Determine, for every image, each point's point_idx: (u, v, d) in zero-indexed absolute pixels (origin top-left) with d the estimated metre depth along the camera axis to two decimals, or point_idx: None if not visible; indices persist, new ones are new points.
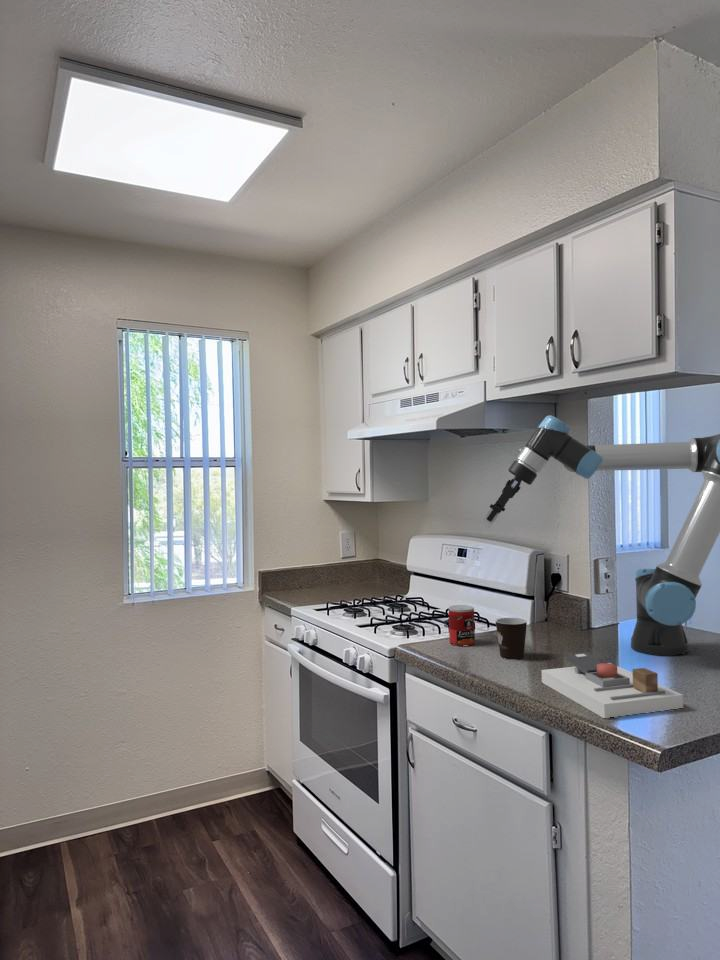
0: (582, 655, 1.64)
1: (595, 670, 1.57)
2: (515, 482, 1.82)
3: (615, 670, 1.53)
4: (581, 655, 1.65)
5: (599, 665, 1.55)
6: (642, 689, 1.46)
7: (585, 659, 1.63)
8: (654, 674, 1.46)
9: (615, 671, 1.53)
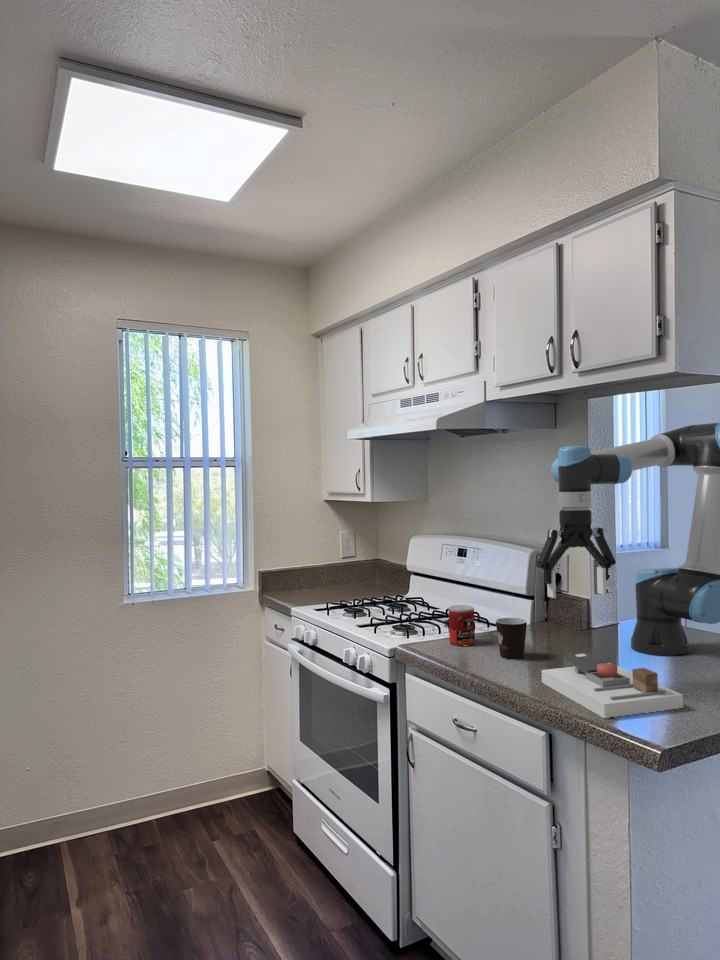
0: (582, 655, 1.64)
1: (595, 670, 1.57)
2: None
3: (615, 670, 1.53)
4: (581, 655, 1.65)
5: (599, 665, 1.55)
6: (642, 689, 1.46)
7: (585, 659, 1.63)
8: (654, 674, 1.46)
9: (615, 671, 1.53)
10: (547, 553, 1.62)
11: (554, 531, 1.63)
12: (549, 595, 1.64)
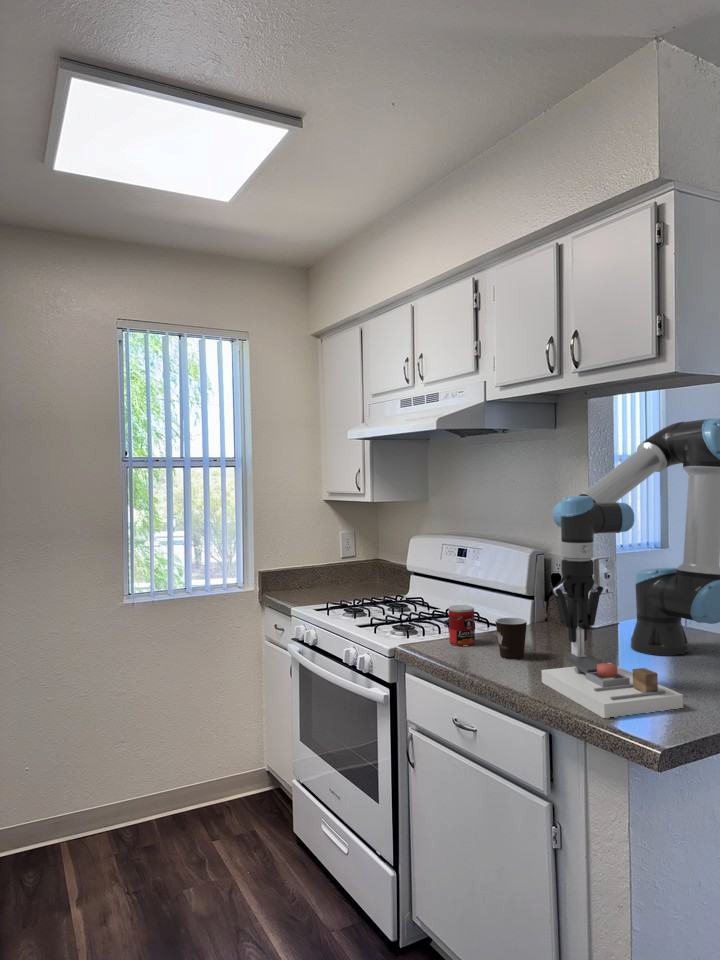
0: (582, 656, 1.64)
1: (595, 670, 1.57)
2: None
3: (615, 670, 1.53)
4: None
5: (599, 665, 1.55)
6: (642, 689, 1.46)
7: (585, 659, 1.63)
8: (654, 674, 1.46)
9: (615, 671, 1.53)
10: (564, 612, 1.63)
11: (558, 591, 1.63)
12: (573, 653, 1.66)
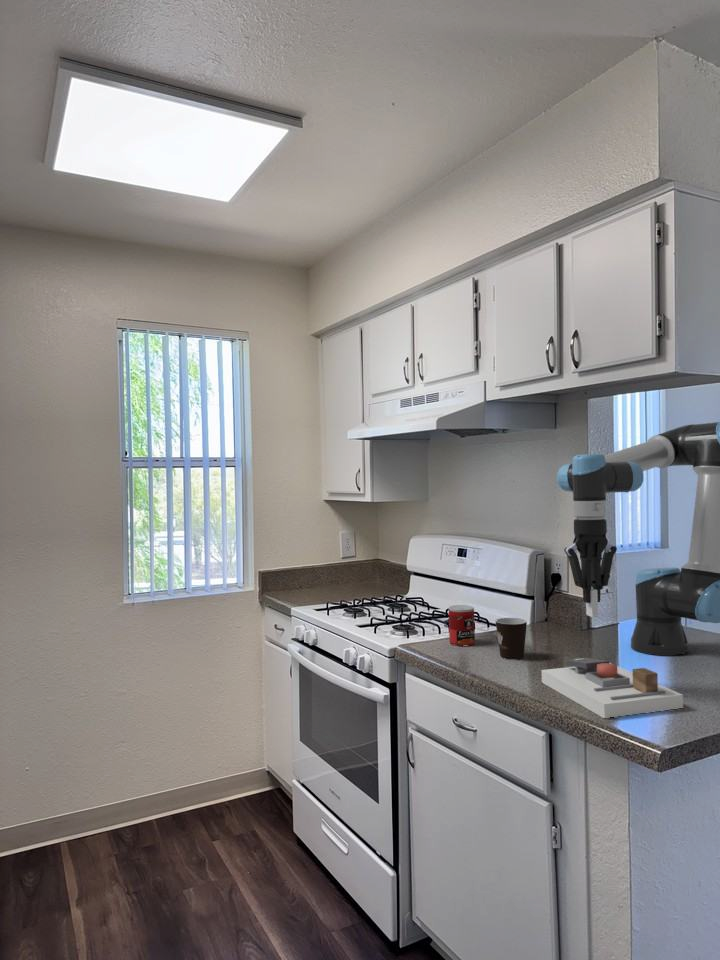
0: (581, 659, 1.65)
1: (594, 663, 1.58)
2: None
3: (615, 670, 1.53)
4: (580, 659, 1.65)
5: (599, 665, 1.55)
6: (642, 689, 1.46)
7: (584, 660, 1.63)
8: (654, 674, 1.46)
9: (615, 671, 1.53)
10: (578, 572, 1.60)
11: (570, 550, 1.60)
12: (588, 614, 1.63)
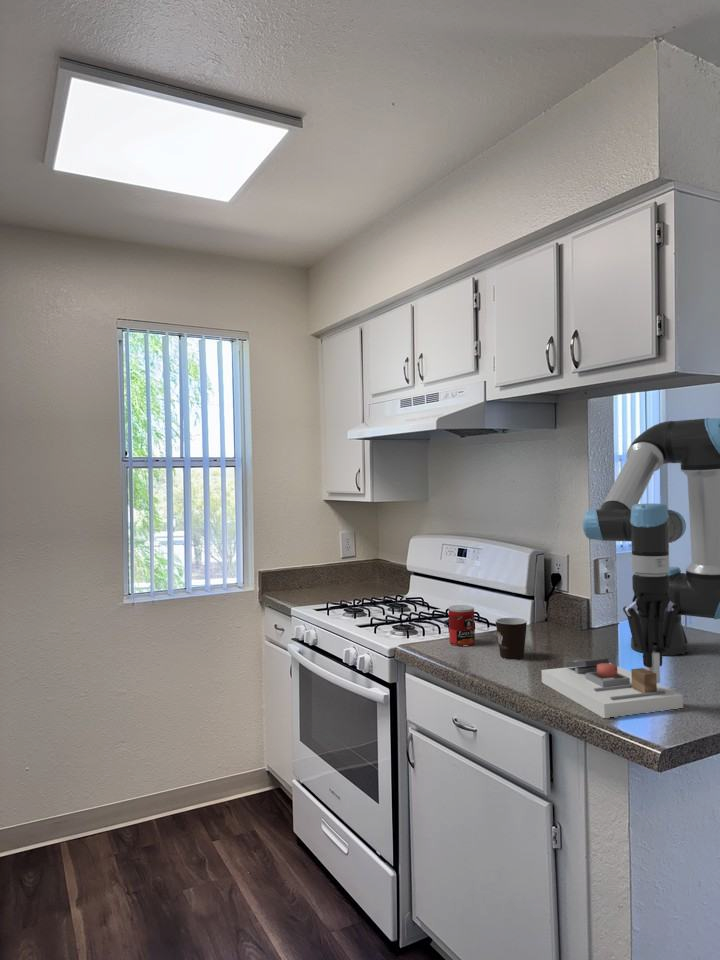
0: (581, 660, 1.65)
1: (593, 661, 1.58)
2: None
3: (615, 670, 1.53)
4: (580, 660, 1.65)
5: (599, 665, 1.55)
6: (641, 689, 1.46)
7: None
8: (653, 674, 1.46)
9: (615, 671, 1.53)
10: (639, 634, 1.46)
11: (631, 610, 1.45)
12: None
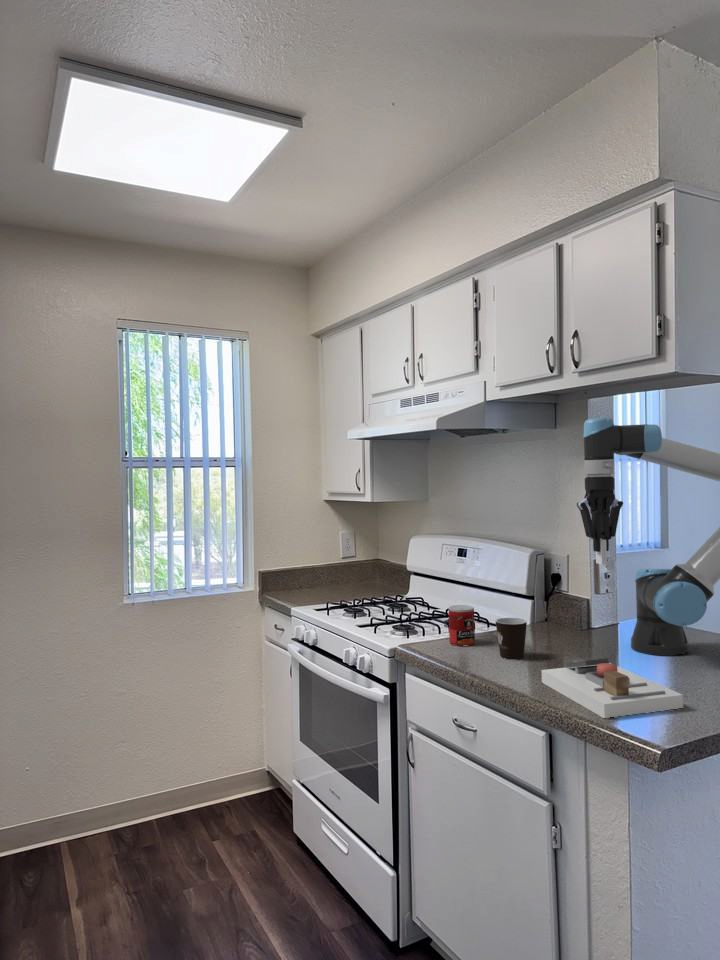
0: None
1: (593, 660, 1.58)
2: None
3: (615, 670, 1.53)
4: None
5: (599, 665, 1.55)
6: (613, 692, 1.44)
7: None
8: (625, 677, 1.44)
9: None
10: (589, 524, 1.79)
11: (582, 504, 1.78)
12: (598, 562, 1.81)
